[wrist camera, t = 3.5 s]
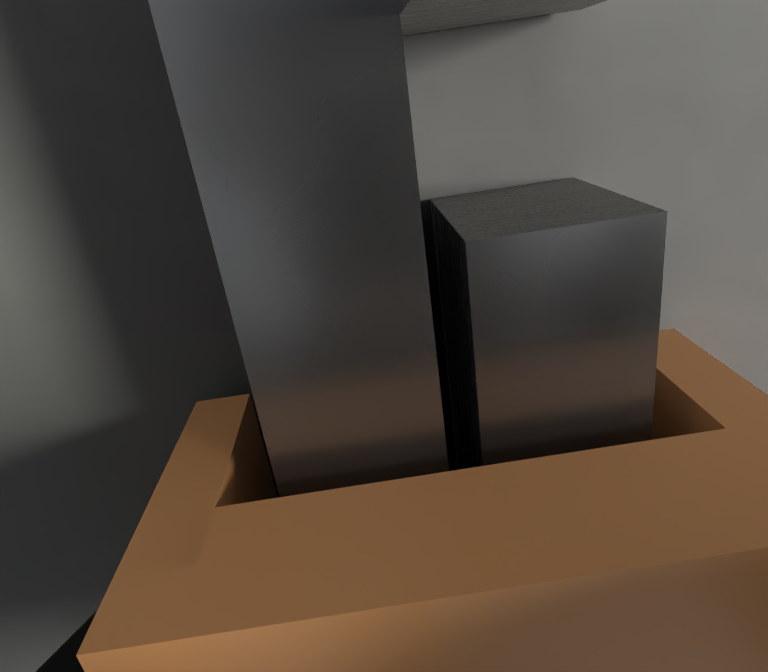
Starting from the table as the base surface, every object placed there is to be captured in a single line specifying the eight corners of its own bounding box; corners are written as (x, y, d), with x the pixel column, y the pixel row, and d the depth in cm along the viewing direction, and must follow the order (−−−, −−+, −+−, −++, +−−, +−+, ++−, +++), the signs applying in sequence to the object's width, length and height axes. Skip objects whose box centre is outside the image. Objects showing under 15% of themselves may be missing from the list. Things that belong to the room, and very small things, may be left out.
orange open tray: (657, 533, 10) (846, 797, 6) (257, 595, 10) (206, 900, 6) (673, 329, 8) (943, 520, 5) (196, 401, 8) (76, 655, 5)
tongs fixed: (573, 752, 13) (620, 887, 11) (392, 781, 13) (402, 922, 11) (574, 177, 8) (666, 211, 5) (270, 223, 8) (241, 275, 5)
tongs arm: (576, 622, 11) (686, 871, 7) (353, 657, 11) (357, 923, 7) (581, -206, 6) (931, -645, 2) (165, -147, 6) (-95, -505, 2)
